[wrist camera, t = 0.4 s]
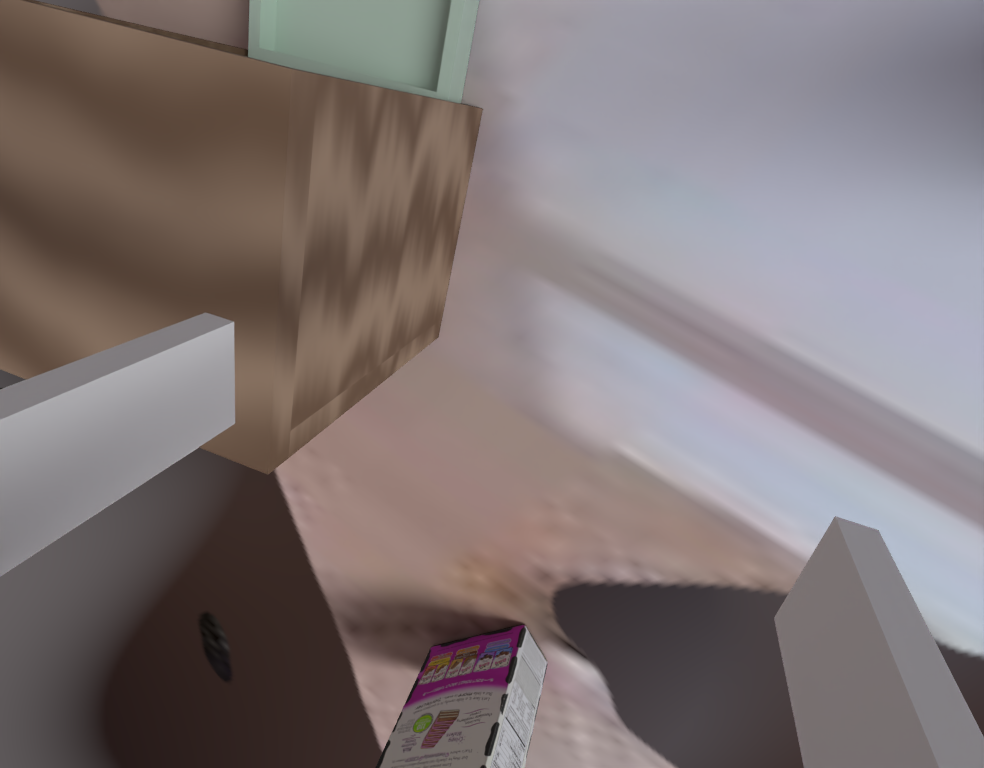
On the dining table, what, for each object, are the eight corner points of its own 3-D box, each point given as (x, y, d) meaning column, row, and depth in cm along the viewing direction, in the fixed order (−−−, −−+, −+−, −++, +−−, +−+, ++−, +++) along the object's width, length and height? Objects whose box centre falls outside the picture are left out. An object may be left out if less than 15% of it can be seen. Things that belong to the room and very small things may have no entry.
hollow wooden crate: (252, 50, 39) (-113, -34, 21) (482, 108, 36) (291, 69, 18) (245, 273, 46) (-34, 355, 28) (438, 337, 43) (268, 474, 25)
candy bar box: (455, 682, 57) (381, 865, 42) (430, 644, 56) (345, 819, 41) (553, 663, 52) (507, 861, 38) (527, 621, 51) (469, 809, 37)
